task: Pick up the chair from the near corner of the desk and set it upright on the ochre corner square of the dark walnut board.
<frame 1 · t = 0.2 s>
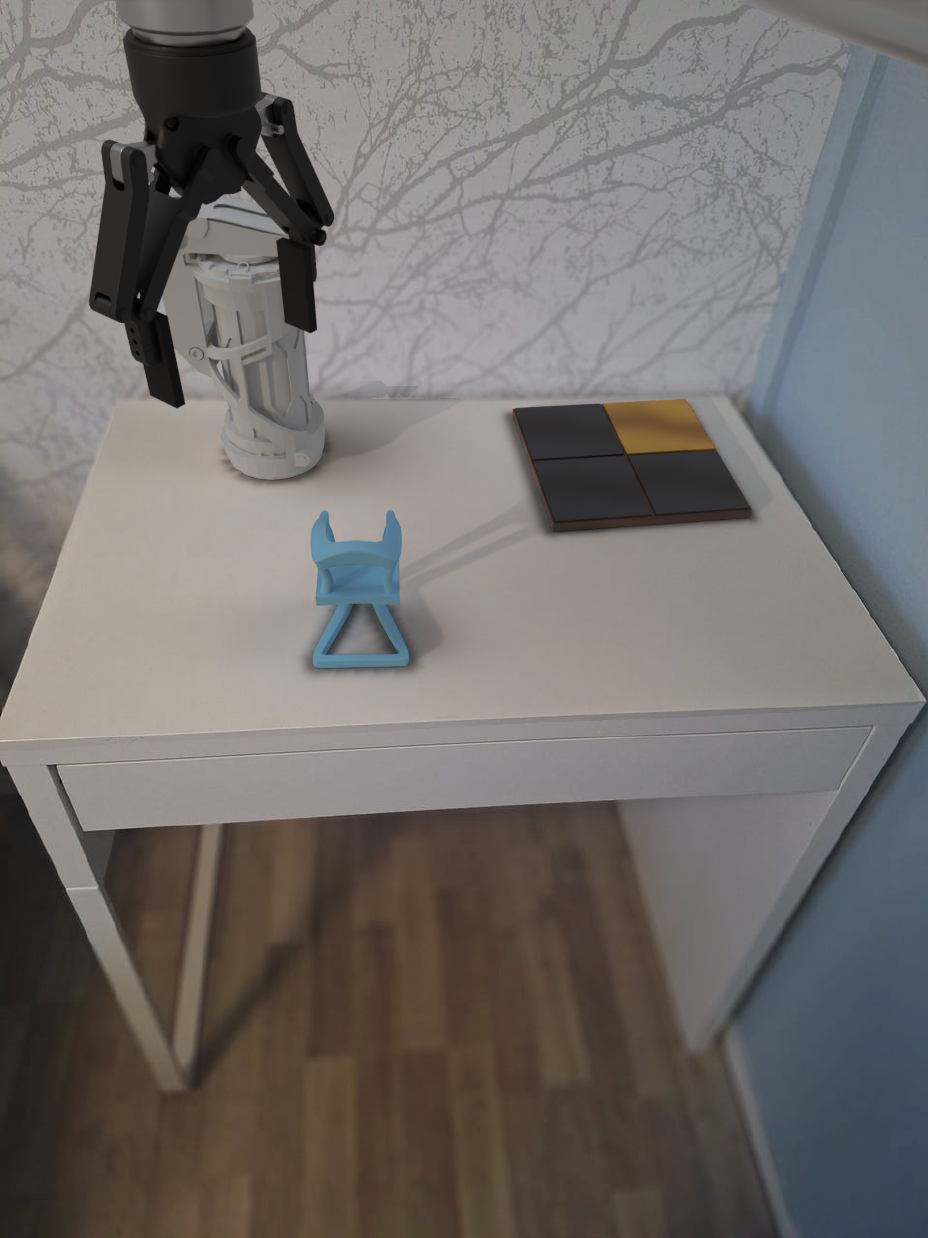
hand: (238, 361, 68), 21 cm above the table, tool pointing down, fingers open, 13 cm apart
board: (624, 464, 96), on the table
chair: (362, 632, 78), on the table
grey tall piece: (264, 452, 95), on the table
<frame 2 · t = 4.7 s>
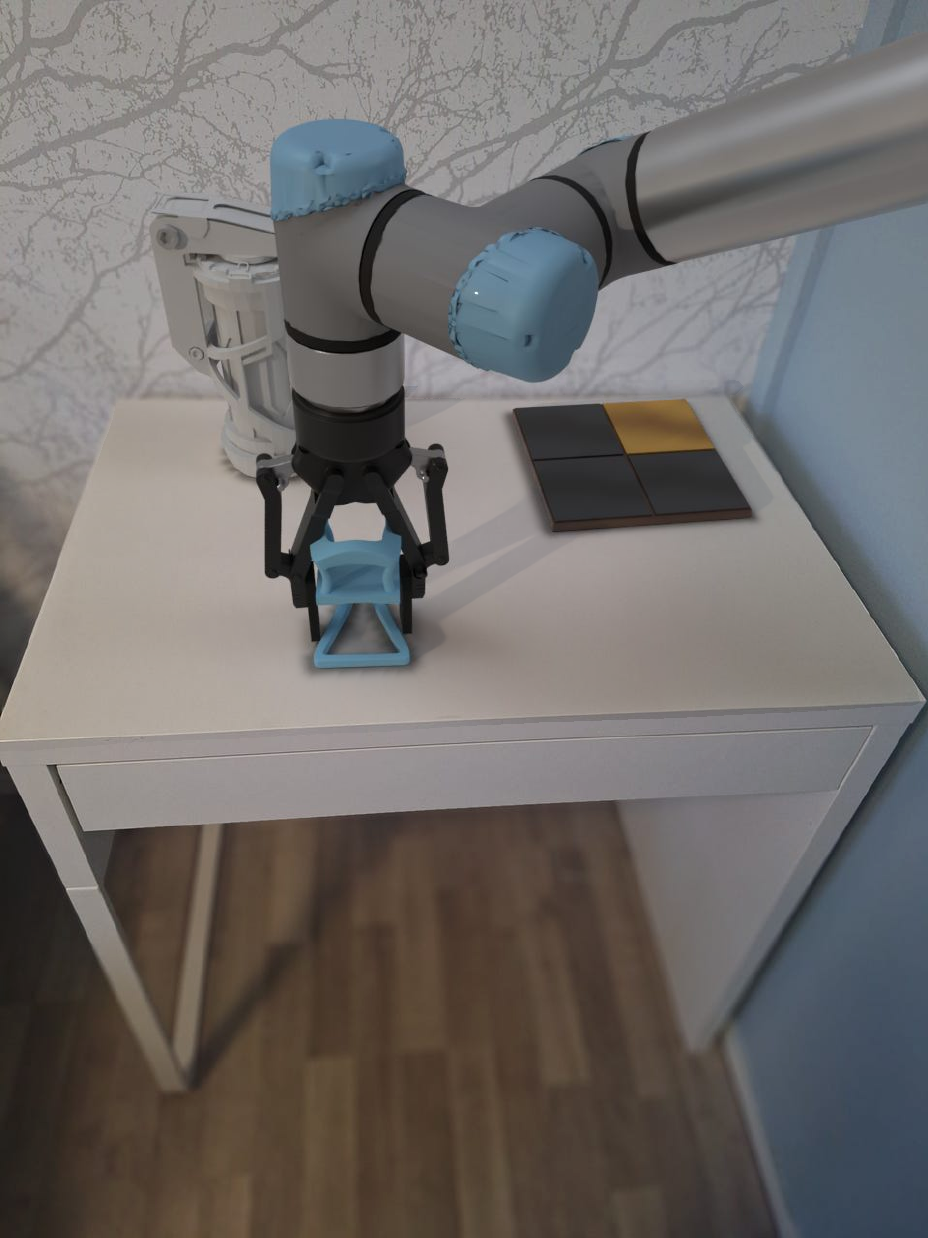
hand: (360, 625, 77), 1 cm above the table, tool pointing down, fingers closed on chair, 7 cm apart
chair: (362, 632, 78), on the table, touching gripper
everything else where it was.
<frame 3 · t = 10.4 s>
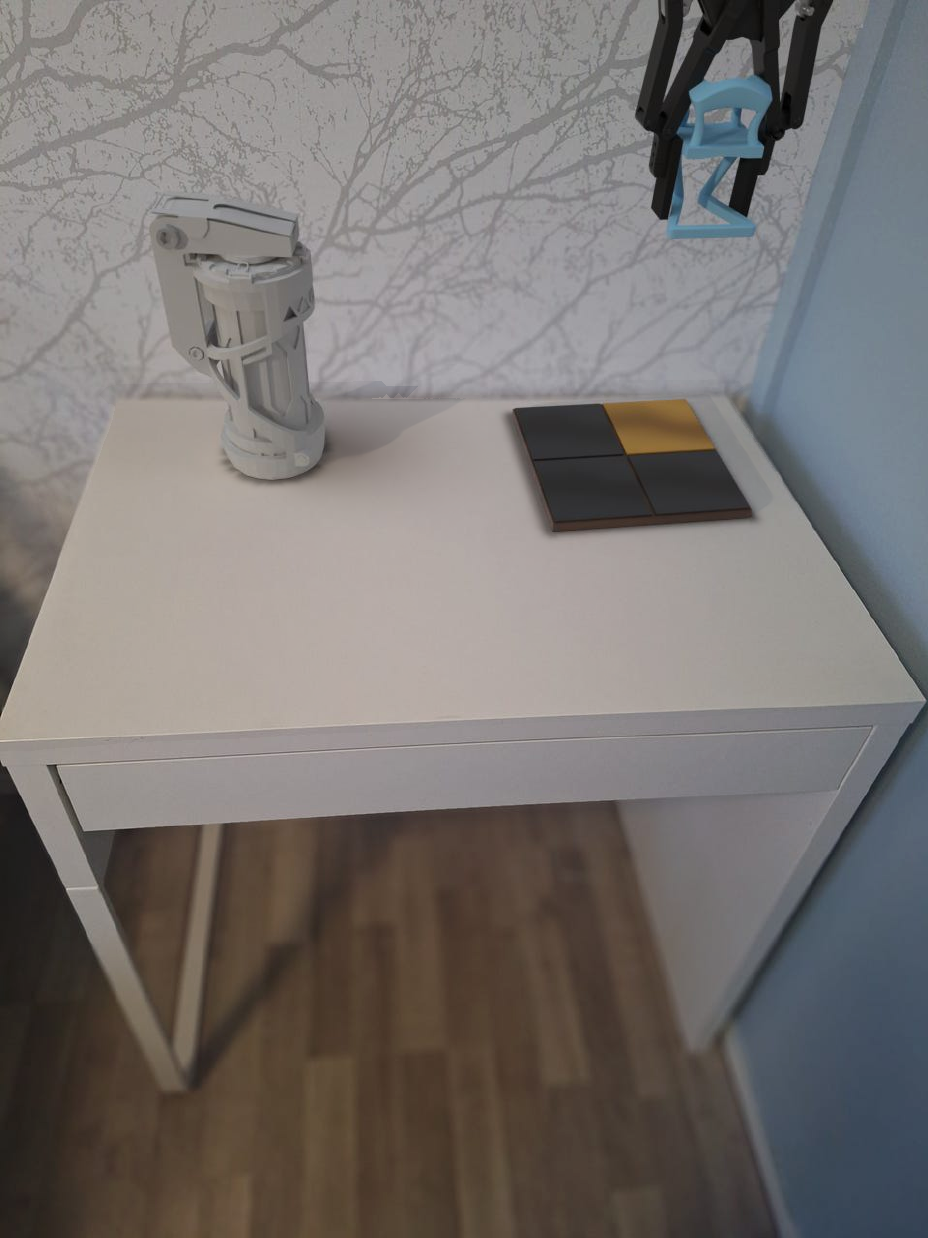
hand: (698, 212, 83), 24 cm above the table, tool pointing down, fingers closed on chair, 7 cm apart
chair: (698, 221, 83), point 23 cm above the table, touching gripper
everything else where it was.
when the fingers open (2 cm above the table, at t = 16.5 s): chair stays where it is, resting on board.
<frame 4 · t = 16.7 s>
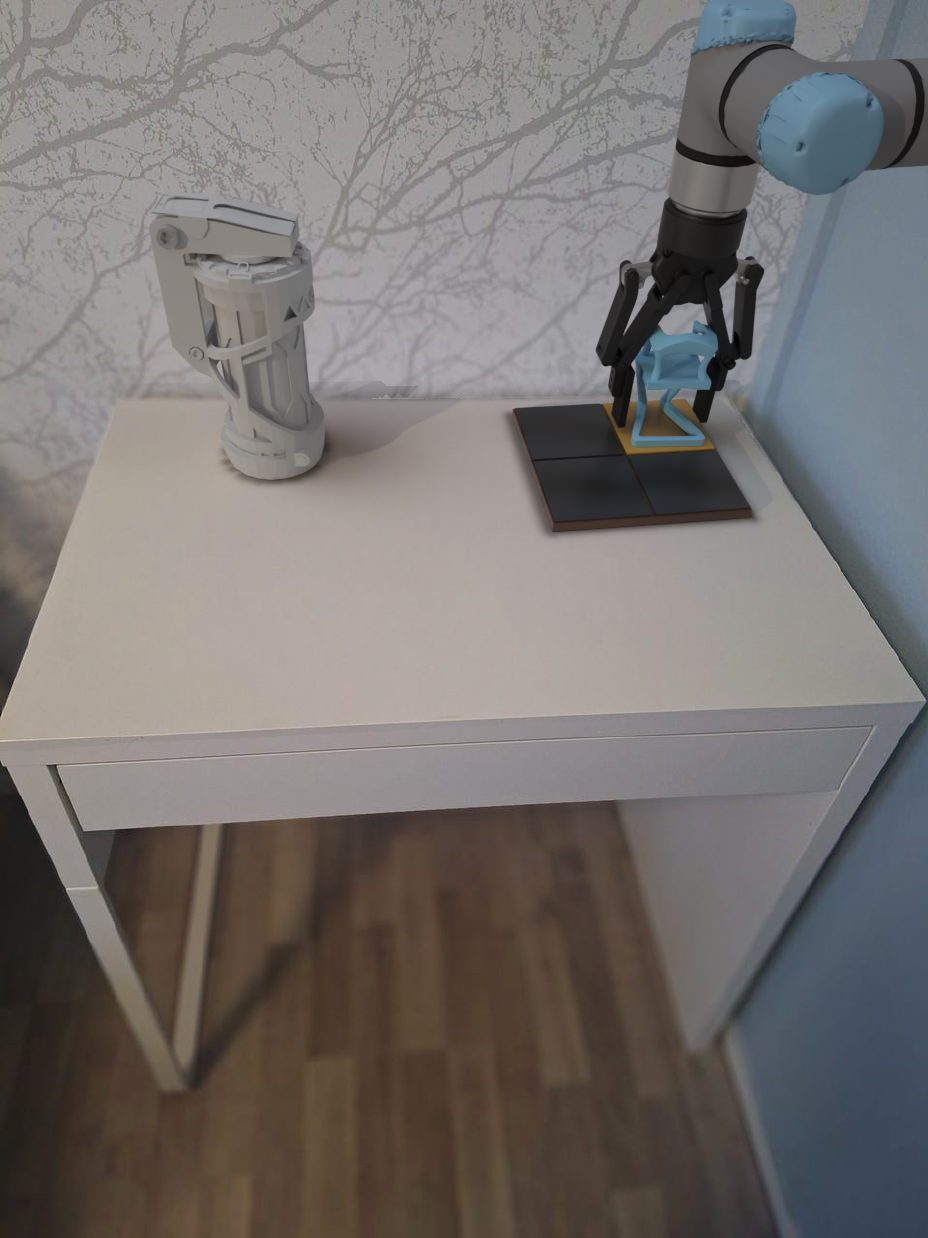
hand: (659, 417, 99), 2 cm above the table, tool pointing down, fingers open, 8 cm apart
chair: (658, 426, 99), point 1 cm above the table, touching board
everything else where it was.
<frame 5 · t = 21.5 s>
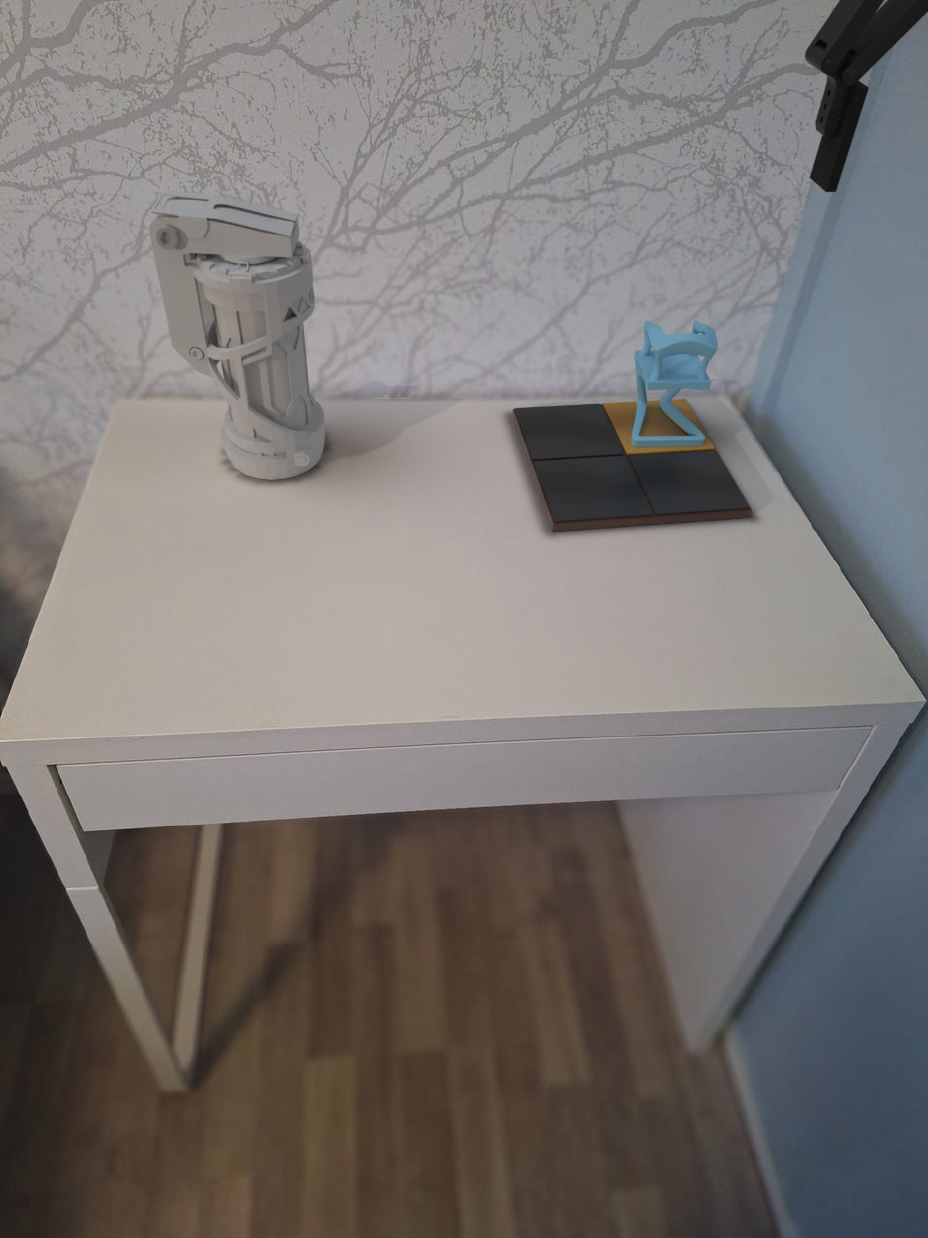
hand: (911, 183, 66), 33 cm above the table, tool pointing down, fingers open, 13 cm apart
nothing on the table moved.
at the end: chair inside the target area on the board (0.2 cm from its centre), point 1.0 cm above the board's base; chair tilted 0°; the gripper is holding nothing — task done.
